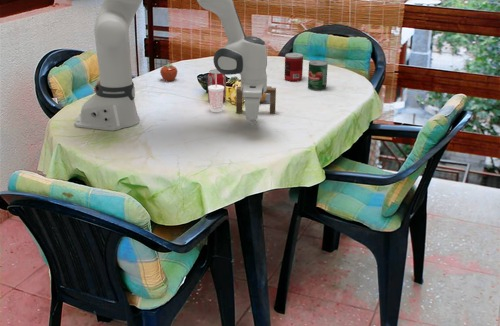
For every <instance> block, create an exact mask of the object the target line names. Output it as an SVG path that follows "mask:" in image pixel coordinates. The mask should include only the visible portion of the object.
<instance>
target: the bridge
mask: <svg viewBox="0 0 500 326" xmlns="http://www.w3.org/2000/svg"><path fill="white" fill-rule="evenodd" d="M235 90H236V91H235V94H236V95H235V98H236V99H235V100H236V101H235V103H236V106H235V107H236V108H235V110H236V112H235V113H238V114H242V113H243V103H242V101H243V93H242V91H241V86H236V89H235ZM276 92H277V87H272V88H269V87H267V90H266V92H264V93H267V94H270V104H269V114H272V115H276V102H277V101H276V99H277V98H276V97H277V93H276Z"/></svg>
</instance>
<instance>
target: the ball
mask: <svg viewBox="0 0 500 326" xmlns="http://www.w3.org/2000/svg"><path fill="white" fill-rule="evenodd" d="M267 94H268V93H264V94H263V95H262V98H261V99H260V102H263V101H264V100H265V99H266V97H267Z"/></svg>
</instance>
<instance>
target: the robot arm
mask: <svg viewBox="0 0 500 326" xmlns="http://www.w3.org/2000/svg"><path fill="white" fill-rule="evenodd" d="M196 1H197V3H198V4H199V6H200V7H201V8H203V9H204V10H206V11H208V12H211V13H213V14H215V15H216V16H217V17H218V18H219V20H220V22H221V25H222V28H223V30H224V32H225V33H224V34H225V36H226V38H227V44H225V45H224V46H222V47H220V48H218V49H217V50H216V51H215V53H214V54H213V65H214V67H215V69H217V70H218V71H219V72H220V73H222V74H225V75H226V76H227V75H228V76H229V75H237V74H239V75H240V87H241V91H242V98H243V97H244V100H245V103H244V108H245V117H246V120H248V121H250V126H255V125H256V123H257V120H258V116H259V110H260V99H261V98H262V95H263V94H264V92H266V90H267V86H268V74H267V66H268V49H267V44H266V42H265V41H264V40H263V39H262V38H260V37H257V36H250V35H248V36H247V35H246V34H245V31H244V28H243V25H242V23H241V20H240V17H239V16H240V15H239V14H238V11H237V8H236V6H235V2H233V1H234V0H196ZM142 2H143V0H104V1H103V2H102V4H101V7H100V9H99V12H98V14H97V17H96V18H95V24H94V27H93V28H94V29H93V31H94V41H95V47H96V56H97V63H98V73H99V80H98V81H97V82H96V84H95V86H94V88H93V91H94V93H95V94H93V96H91V97H90V98H89V99H87V100H86V101H85V102H84V103H83V105H82V107H81V110H80V114H79V116H77V117H76V118H75V120H74V126H75V127H76V128H83V129H84V128H85V129H94V130H102V131H103V130H104V131H110V132H112V131H114V132H115V131H118V130H121V129H124V128H130V127H133V126H135V125H137V124H138V123H140V122H141V120H140V116H139V113H138V111H137V107H136V102H135V98H136V92H135V84H134V81H133V72H132V71H133V69H132V58H131V47H130V25H132V21H133V20H134V18H135V15H136V13H137V12H138V9H139V7H140V6H141V4H142Z"/></svg>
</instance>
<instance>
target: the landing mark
mask: <svg viewBox="0 0 500 326" xmlns="http://www.w3.org/2000/svg"><path fill="white" fill-rule="evenodd" d="M243 104H245V101H244V103H243ZM260 104H262V105H270V93H267V97H266V99H265V100H264V101H263V102H260ZM260 104H259V105H260Z"/></svg>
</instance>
